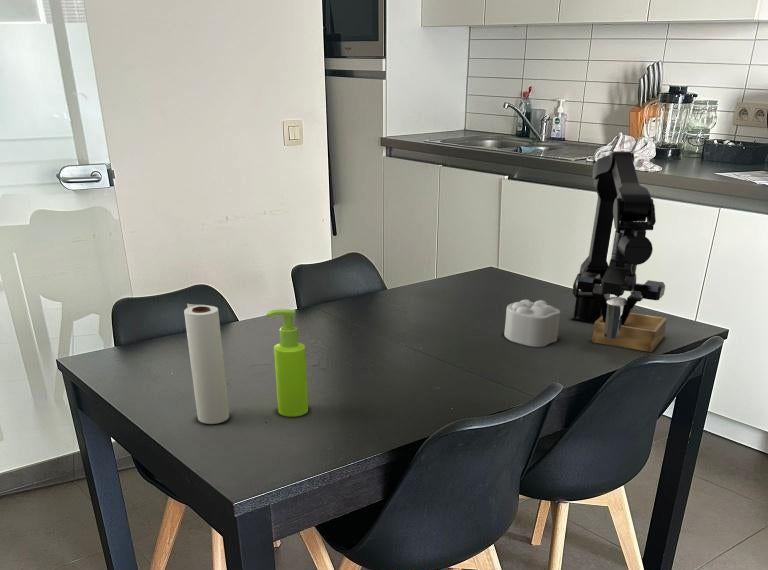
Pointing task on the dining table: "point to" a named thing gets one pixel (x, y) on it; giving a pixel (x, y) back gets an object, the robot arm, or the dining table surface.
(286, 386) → the soap dispenser
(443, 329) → the dining table surface
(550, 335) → the lumpy-topped squat cylinder
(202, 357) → the paper towel roll
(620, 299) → the silver capped cylinder
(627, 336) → the crate
